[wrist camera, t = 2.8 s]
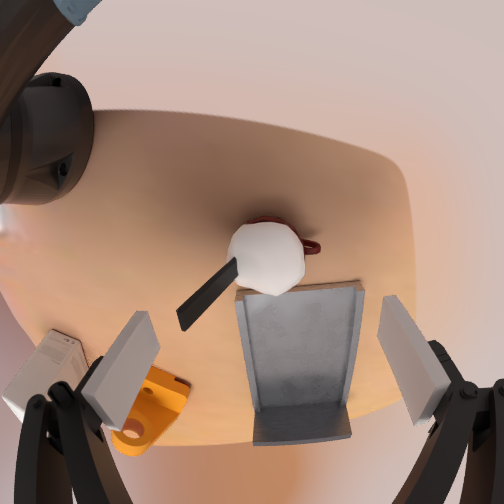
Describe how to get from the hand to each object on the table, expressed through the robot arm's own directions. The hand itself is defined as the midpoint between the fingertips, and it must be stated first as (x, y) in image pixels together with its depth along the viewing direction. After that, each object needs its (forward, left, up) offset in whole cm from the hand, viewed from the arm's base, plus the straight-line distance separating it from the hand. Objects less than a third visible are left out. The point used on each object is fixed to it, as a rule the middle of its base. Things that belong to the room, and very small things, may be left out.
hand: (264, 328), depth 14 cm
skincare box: (+16, -32, -13) cm, 38 cm away
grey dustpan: (+15, +3, -12) cm, 19 cm away
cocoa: (0, 0, -13) cm, 13 cm away
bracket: (+20, -18, -13) cm, 30 cm away
